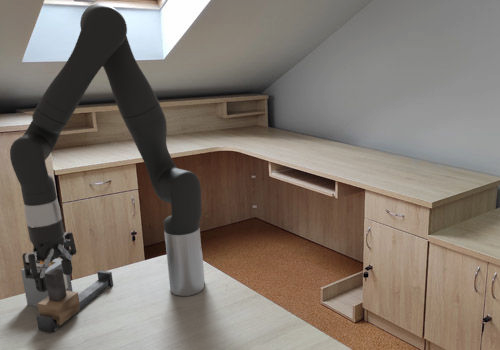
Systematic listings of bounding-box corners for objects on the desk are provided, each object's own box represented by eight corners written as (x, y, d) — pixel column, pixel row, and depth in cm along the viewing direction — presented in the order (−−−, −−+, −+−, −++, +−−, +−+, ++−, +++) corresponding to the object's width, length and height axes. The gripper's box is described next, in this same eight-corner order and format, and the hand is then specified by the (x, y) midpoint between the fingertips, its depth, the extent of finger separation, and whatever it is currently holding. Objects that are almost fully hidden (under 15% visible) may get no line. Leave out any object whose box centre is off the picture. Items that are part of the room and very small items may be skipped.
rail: (101, 283, 134) (99, 270, 133) (113, 284, 133) (111, 271, 132) (38, 330, 112) (35, 315, 111) (52, 333, 111) (49, 318, 110)
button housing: (49, 289, 132) (43, 256, 129) (74, 293, 129) (69, 260, 126) (27, 304, 124) (20, 269, 122) (53, 309, 121) (47, 273, 119)
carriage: (61, 306, 120) (53, 263, 117) (80, 310, 118) (73, 266, 115) (40, 321, 114) (32, 276, 111) (61, 325, 112) (53, 279, 109)
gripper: (53, 208, 118) (63, 267, 122) (7, 229, 105) (20, 295, 109) (77, 210, 115) (87, 270, 119) (33, 232, 102) (46, 299, 107)
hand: (55, 282), depth 114 cm, fingers open, 8 cm apart
